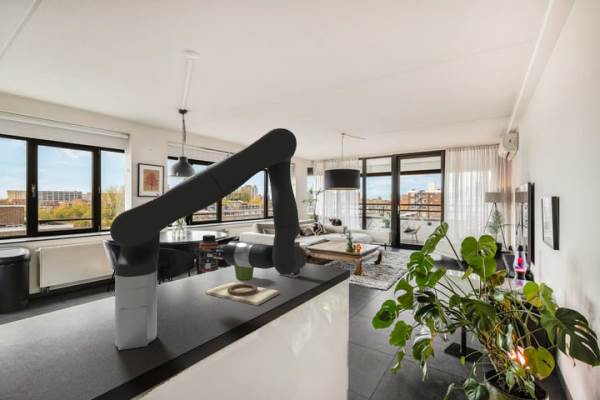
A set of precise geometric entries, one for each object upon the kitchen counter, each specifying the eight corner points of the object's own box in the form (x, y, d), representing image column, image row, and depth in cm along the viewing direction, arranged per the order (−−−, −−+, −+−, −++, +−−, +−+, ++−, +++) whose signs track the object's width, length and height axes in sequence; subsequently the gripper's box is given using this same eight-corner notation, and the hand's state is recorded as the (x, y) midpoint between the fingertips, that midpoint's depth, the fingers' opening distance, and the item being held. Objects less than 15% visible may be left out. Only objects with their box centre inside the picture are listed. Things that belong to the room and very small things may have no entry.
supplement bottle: (212, 272, 91) (212, 236, 91) (195, 271, 92) (195, 236, 92) (221, 268, 97) (221, 234, 97) (205, 267, 98) (205, 234, 98)
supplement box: (300, 275, 135) (300, 241, 135) (294, 278, 131) (294, 243, 131) (284, 273, 140) (285, 240, 140) (279, 275, 136) (279, 241, 136)
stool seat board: (279, 293, 110) (279, 287, 110) (257, 305, 97) (257, 298, 97) (230, 284, 121) (230, 278, 121) (205, 293, 109) (205, 287, 109)
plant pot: (239, 273, 138) (239, 250, 138) (261, 276, 134) (261, 251, 134) (225, 280, 127) (225, 254, 126) (249, 283, 123) (249, 256, 123)
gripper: (257, 238, 94) (218, 235, 102) (227, 244, 81) (185, 240, 89) (257, 261, 94) (218, 256, 102) (227, 271, 81) (185, 264, 89)
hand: (203, 249), depth 96 cm, fingers closed on supplement bottle, 6 cm apart
